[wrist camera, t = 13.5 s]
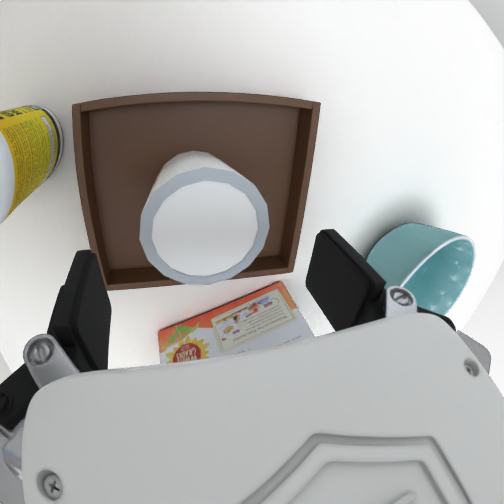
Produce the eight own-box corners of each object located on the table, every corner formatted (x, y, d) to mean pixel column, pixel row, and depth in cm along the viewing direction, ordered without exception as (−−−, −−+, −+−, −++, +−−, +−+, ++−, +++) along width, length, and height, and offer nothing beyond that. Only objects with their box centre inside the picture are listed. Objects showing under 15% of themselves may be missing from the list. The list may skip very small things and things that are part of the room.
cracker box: (181, 358, 30) (222, 531, 13) (155, 329, 27) (190, 537, 10) (292, 314, 31) (381, 478, 14) (282, 278, 27) (394, 474, 11)
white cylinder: (151, 233, 20) (149, 292, 15) (143, 145, 17) (130, 174, 11) (237, 225, 22) (265, 278, 17) (241, 140, 19) (276, 165, 13)
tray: (106, 272, 22) (102, 291, 20) (83, 102, 14) (71, 104, 12) (282, 256, 26) (293, 272, 24) (305, 100, 18) (321, 102, 16)
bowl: (335, 323, 35) (366, 370, 28) (337, 221, 26) (390, 272, 19) (420, 281, 37) (453, 315, 30) (438, 188, 27) (488, 219, 21)
